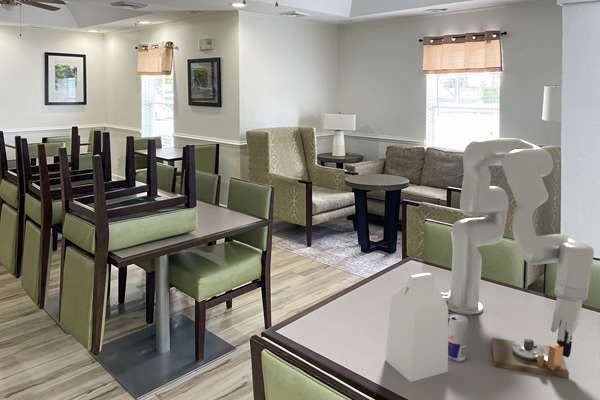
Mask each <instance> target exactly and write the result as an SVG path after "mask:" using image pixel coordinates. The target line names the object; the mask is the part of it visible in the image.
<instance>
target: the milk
mask: <svg viewBox="0 0 600 400" xmlns="http://www.w3.org/2000/svg"><path fill="white" fill-rule="evenodd" d="M441 293H442V292H441ZM441 293H440V289H439V288H438V287H437V285H436V284H435V281H434V277H433V274H432V273H430V272H425V273H418V274H412V275H410V276H409V278H408V280H407V282H406V284H405V286H403V287H402V288H401V289H400V290H398V291H397V292H396V293H394V294H393V295H392V297H391V298H390V299H391V300H390V307H389V316H388V317H389V319H388V328H387V339H386V348H385V362H387V363H388V364H389V365H390V366H392V368H394V370H396V371H397V372H398V373H399V374H401V375H402V376H403V377H404V378H405V379H406V380H407V381H408V382H410V383H412V382H416V381H420V380H424V379H426V378H430V377H434V376H436V375H442V374H445V373H448V372H449V359H448V317H449V309H448V306H447V303H446V300H445V299H444V298H443V296H442V295H441Z"/></svg>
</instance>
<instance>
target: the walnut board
mask: <svg viewBox="0 0 600 400" xmlns="http://www.w3.org/2000/svg"><path fill="white" fill-rule="evenodd" d="M490 341H491V352H492V362H493V367H496V368H500V369H507V370H508V369H509V370H514V371H519V372H525V373H526V372H527V373H532V374H538V375H544V376H550V377H557V378H563V379H569V376H570V373H569V369H568V367H567V365H566V362H565V361H566V360H565V358H564V356H562V362H561V368H559V369H556V370H551V369H549V368H547V366H545V365H544V355H543V354H538V357H537V361H530V360H525V359H522V358H520V357H518V356H516V355H515V354H514V353H513V352H512V347H513V343H515V342H518V341H516V340H515V341H514V340H511V339H502V338H495V337H491V340H490ZM523 341H524V348H525V349H528V350H533V346H534V344H535V341H534V340H533V339H531V338H525V339H524V340H523ZM536 344H537V343H536ZM537 345H539V346H540V347H542V348H543V349H544V354H545V355H547V356H548V353H549V346H550V345H544V344H537Z"/></svg>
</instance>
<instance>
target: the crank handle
mask: <svg viewBox="0 0 600 400" xmlns="http://www.w3.org/2000/svg"><path fill="white" fill-rule="evenodd" d="M539 345H540V344H538V345H537V343H534V346H533V350H528V349H525V348H524V340H521V341H517V342H515V343H513V347H512V352H513V353H514V354H515V355H516V356H518V357H520V358H522V359H525V360H530V361H537V357H538V354H543V355H544V365H545V366H547V368H549V369H551V370H556V369H559V368H561V362H562V354H563V346H562V345H560V344H558V343H557V342H556V343H554V344H551V345H548V346H549V353H548V356H547V355H545V354H544V349H543V348H542V347H540V346H539Z"/></svg>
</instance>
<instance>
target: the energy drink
mask: <svg viewBox="0 0 600 400" xmlns="http://www.w3.org/2000/svg"><path fill="white" fill-rule="evenodd" d="M468 326H469V320H468V317H467V316H466V315H465V314H460V313H451V314H448V361H452V362H456V363H461V362H463V361H465V360H466V354H467V352H466V351H467V343H468V341H467V339H468V330H469V327H468Z"/></svg>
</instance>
